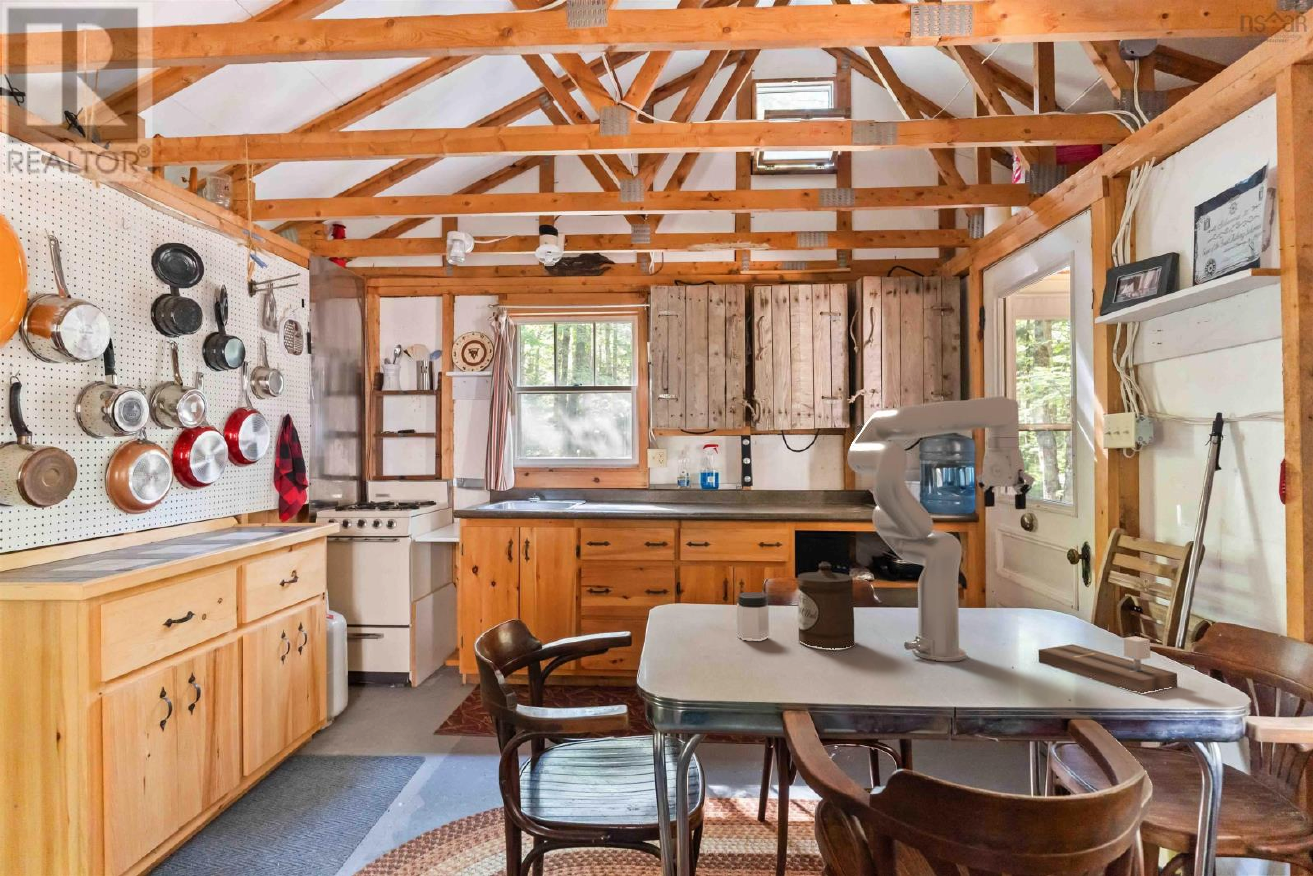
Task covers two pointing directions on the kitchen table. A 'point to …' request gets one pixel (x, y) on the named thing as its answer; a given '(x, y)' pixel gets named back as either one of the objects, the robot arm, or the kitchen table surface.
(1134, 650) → the block
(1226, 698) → the kitchen table surface
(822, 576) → the wooden container
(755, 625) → the jar
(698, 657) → the kitchen table surface
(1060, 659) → the control board
